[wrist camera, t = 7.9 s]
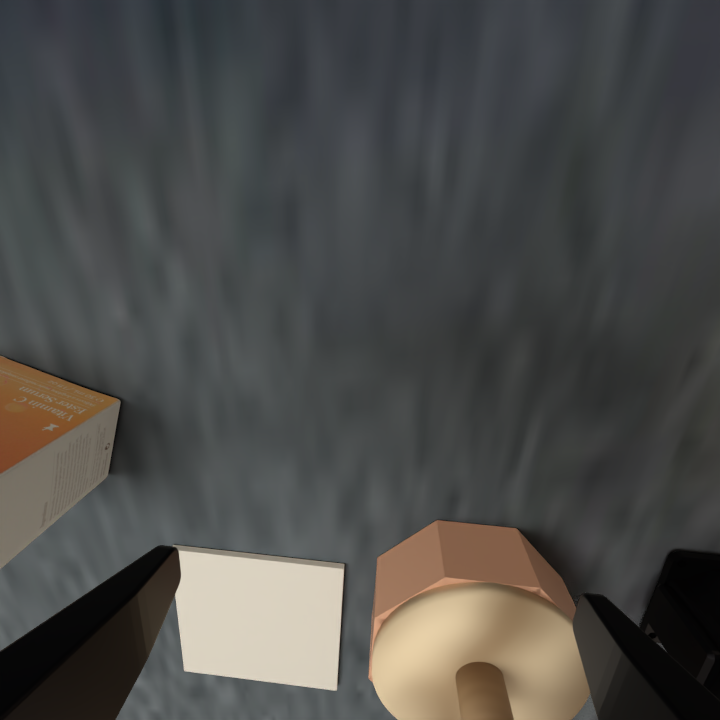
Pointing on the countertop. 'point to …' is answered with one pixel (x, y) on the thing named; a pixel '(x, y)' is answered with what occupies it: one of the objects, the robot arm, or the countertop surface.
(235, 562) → the mat
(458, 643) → the lid
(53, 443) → the small box
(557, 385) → the countertop surface
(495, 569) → the bowl
